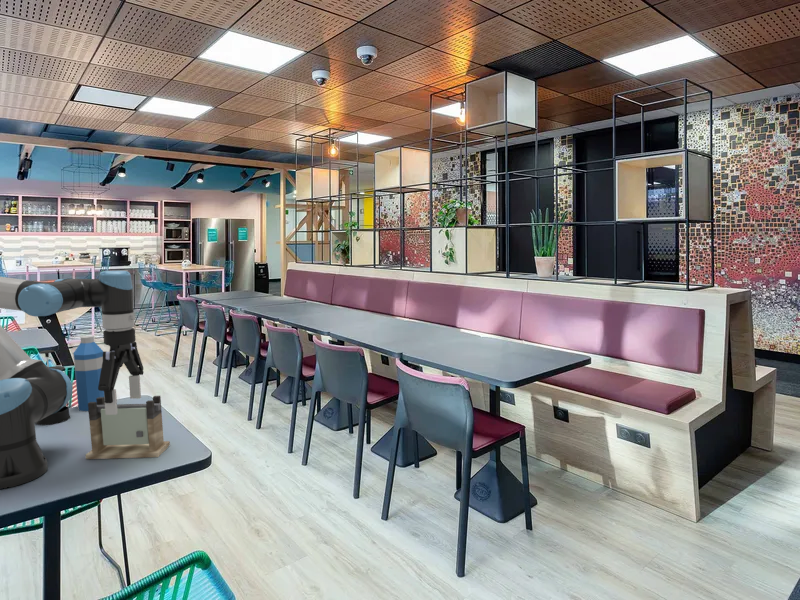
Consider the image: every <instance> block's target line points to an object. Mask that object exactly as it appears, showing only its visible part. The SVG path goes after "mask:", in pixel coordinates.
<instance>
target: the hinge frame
mask: <svg viewBox="0 0 800 600" xmlns="http://www.w3.org/2000/svg"><path fill="white" fill-rule="evenodd" d="M161 398H162V397H161V395H154V396H152V399H151V400H147V401H145V404H146V409H147V422H148V435H149V444H132V445H104V444H103V432H102V421H101V412H97V405H105V400H104V397H98V398H96V401H97V403H96V402H89V403H88V410H89V411H88V421H89V430H90V431H89V432H90V443H91V450H90V451H88V452H87V453H86V454H84V455H85V460H94V459H95V460H99V459H100V460H101V459H102V460H103V459H105V460H106V459H107V460H108V459H130V458H131V459H133V458H136V459H137V458H141V459H143V458H159V457H160V456H161V455H162V454H164V452H165V451H166V450H167V449H168V448H169V447H170V446H171V443H170V440H169V441H168V440H165V439H164V428H163V427H164V426H163V415H162V412H163V411H162V408H161V409H160V410H159V411H155V407H154V403H161V404H162V400H161ZM169 445H170V446H169ZM168 446H169V447H168Z"/></svg>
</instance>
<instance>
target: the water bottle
mask: <svg viewBox="0 0 800 600" xmlns="http://www.w3.org/2000/svg"><path fill="white" fill-rule="evenodd" d="M79 338H80V343H79V345H77V347H76V349H75V350H74V352H73V353H72V354H73V362H74V373H75V387H76V398H77V409H78V408H79V409H78V411H79V412H89V410H88V403H89V402H96V403H97V401H96V398H98V397H104V391H99V390H98V385H99V380H100V374H101V368H102V362H103V352H104V351H103V349H102V348H101V347H100V346H99V345H98V344H97V343H96V342H95V336H94V335H83V336H80V337H79Z"/></svg>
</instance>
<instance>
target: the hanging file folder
mask: <svg viewBox="0 0 800 600" xmlns="http://www.w3.org/2000/svg"><path fill="white" fill-rule="evenodd" d="M154 407H155V411H159V410H160V409H161V410H162V402H161V403H154ZM97 412H101V421H102V432H103V444H104V445H132V444H149V435H148V422H147V409H146V403H128V404H127V403H125V404H123V403H122V404H120V403H119V404H118V403H117V412H118V414H116V415H106V414H105V405H97Z"/></svg>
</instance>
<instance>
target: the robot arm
mask: <svg viewBox="0 0 800 600" xmlns="http://www.w3.org/2000/svg"><path fill="white" fill-rule="evenodd" d="M133 289H134V287H133V283H132V274H131V273H130V272H129V271H127V270H105V271H101V272H99V275H98V277H97V278H71V277H67V278H60V279H59V278H58V279H55V280H54V281H51V282H46V281H45V282H44V281H38V280H29V279H21V278H15V277H5V276H0V309H2V310H3V309H4V310H11V311H18V312H23V313H25V314H26V315H28V316H30V317H47V316H51V315H53V314H58V313H61V312H62V313H63V312H65V311H70V310H73V309H74V310H75V309H77V308H78V309H79V308H100V309H101V319H102V320H101V321H102V322H101V324H102V329H103V332H102V333H103V336H102V337H103V343H104V345H106V346H109V350H108V351H103V362H102V368H101V374H100V380H99V385H98V390H99V391H104V400H105V414H106V415H116V414H118V412H117V404H118V401H117V400H118V399H117V389H115V386H116V383H117V380H118V376H119V372H120V369H121V368H122V367H123V365H124V366H125V368H126V369H127V372H129V374H130V375H129V376H128V383H129V384H128V386H129V398H130V399H133V400H134V399H141V398H142V391H141V377H140V376H143V375H144V366H143V362H142V359H141V356H140V353H139V351H138V345H137V341H136V329H135V328H134V327H135V320H136V316H135V313H134V312H135V309H134V295H133V294H134V291H133ZM72 394H73V383H72V380H71V379H70V377H69V375H67V374H66V373H65V371H61V370H58V369H57V370H56V369H49V368H48V367H47V364H46V363H44V361H43V360H42V359H33V358H31V357H30V355H28V354H27V352H26V351H25V350H24V349H23V348H22V347H21V346H20V345H19V344H18V343H17V342H16V341H15V340H14V339H13V337H12V336H11V335H10V334H9V333H8V332H7V331H6V330H5V329H4V328H3V327H2V326H1V325H0V490H2V489H1V488H4V489H8V488H7V487H9V488H12V487H16V486H19V485H23V484H25V483H29V482H31V481H33V480H35V479H38V478H39V477H41V476H42V475H44V474H45V473H46V472H47V470H48V460H47V457H46V456H45V455H44V454H43V451H42V449H41V446H40V445H39V443H38V441H37V436H36V422H38V421H40V420H42V419H43V418H45V417H47V416H49V415H51V414H54V413H56V412H58V411H59V410H60V409H61V408H63V407H64V406H67V403H68V404H69V402H70V400H71V398H72Z"/></svg>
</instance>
